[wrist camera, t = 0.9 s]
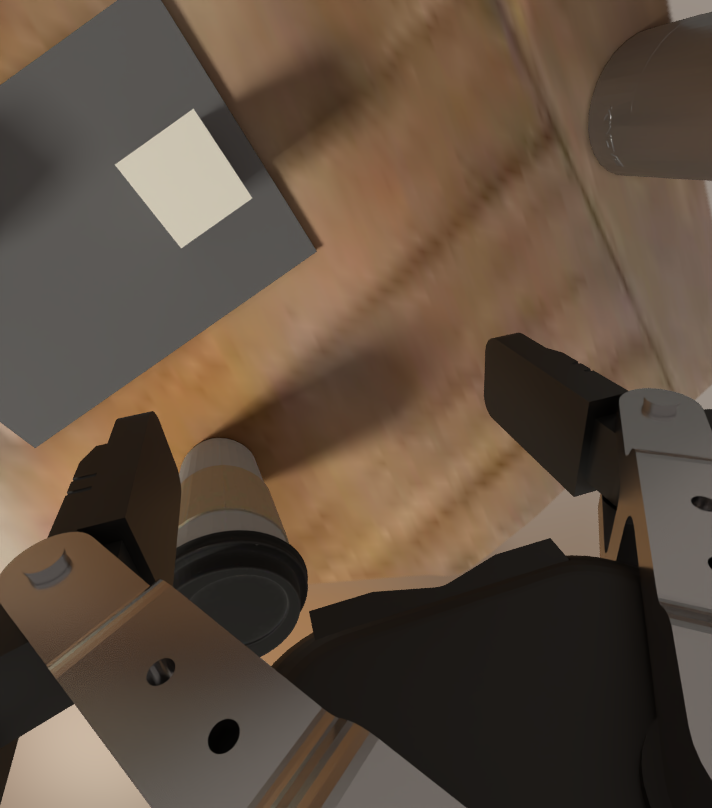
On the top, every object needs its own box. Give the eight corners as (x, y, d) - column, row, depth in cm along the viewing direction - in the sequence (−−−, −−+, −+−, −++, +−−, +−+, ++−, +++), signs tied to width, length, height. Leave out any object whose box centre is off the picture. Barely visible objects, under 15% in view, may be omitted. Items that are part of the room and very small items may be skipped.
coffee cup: (150, 510, 39) (126, 685, 26) (166, 409, 35) (147, 554, 22) (264, 515, 42) (292, 672, 29) (289, 424, 39) (333, 557, 26)
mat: (148, -18, 24) (147, -22, 24) (315, 250, 33) (316, 251, 32) (-220, 248, 25) (-228, 250, 24) (37, 443, 33) (34, 448, 33)
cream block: (195, 121, 27) (193, 108, 19) (238, 186, 29) (252, 198, 21) (138, 161, 27) (114, 164, 19) (185, 223, 29) (181, 248, 22)
